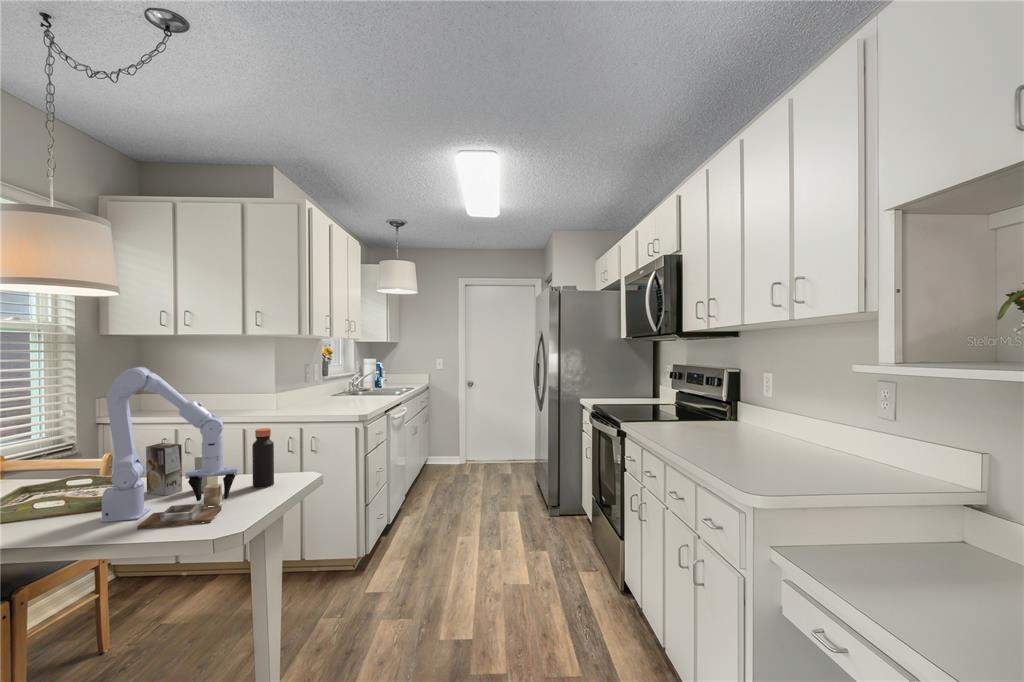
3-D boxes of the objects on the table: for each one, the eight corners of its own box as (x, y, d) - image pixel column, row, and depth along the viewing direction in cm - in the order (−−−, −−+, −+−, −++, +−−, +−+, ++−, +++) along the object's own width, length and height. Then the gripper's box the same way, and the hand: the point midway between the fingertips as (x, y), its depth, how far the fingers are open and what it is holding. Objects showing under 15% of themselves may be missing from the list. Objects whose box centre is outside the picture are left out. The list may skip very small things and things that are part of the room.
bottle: (253, 484, 178) (252, 428, 178) (274, 481, 181) (273, 427, 181) (252, 489, 172) (251, 432, 172) (273, 486, 175) (273, 430, 175)
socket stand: (137, 529, 137) (137, 518, 137) (153, 516, 147) (153, 506, 147) (211, 522, 142) (210, 512, 142) (221, 510, 152) (221, 500, 152)
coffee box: (183, 490, 171) (183, 444, 171) (165, 496, 165) (165, 448, 165) (163, 488, 174) (163, 442, 174) (145, 493, 168) (144, 446, 168)
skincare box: (207, 492, 169) (206, 457, 169) (194, 492, 169) (193, 457, 169) (218, 486, 175) (218, 452, 175) (206, 486, 175) (205, 452, 175)
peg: (203, 508, 154) (203, 488, 154) (207, 503, 158) (207, 485, 158) (218, 506, 155) (217, 487, 155) (221, 502, 159) (221, 484, 159)
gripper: (181, 460, 151) (181, 505, 151) (234, 457, 154) (234, 501, 155) (189, 455, 157) (190, 498, 158) (240, 452, 161) (240, 494, 161)
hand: (212, 499), depth 157 cm, fingers open, 7 cm apart
